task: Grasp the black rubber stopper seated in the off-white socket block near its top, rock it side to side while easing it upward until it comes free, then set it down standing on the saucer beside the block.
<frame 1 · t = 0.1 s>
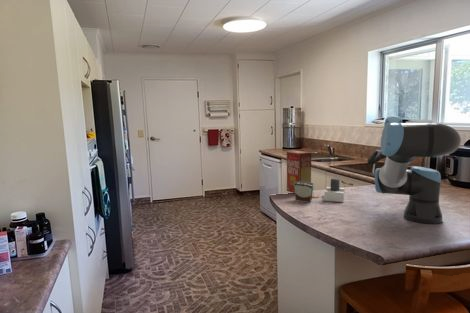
hand: (386, 172, 175), 15 cm above the worktop, tool tilted 35°, fingers open, 13 cm apart
socket block: (334, 198, 182), on the worktop
saucer: (313, 196, 187), on the worktop
food packaging: (298, 192, 198), on the worktop
food container: (305, 200, 179), on the worktop
stopper: (334, 198, 182), resting in socket block
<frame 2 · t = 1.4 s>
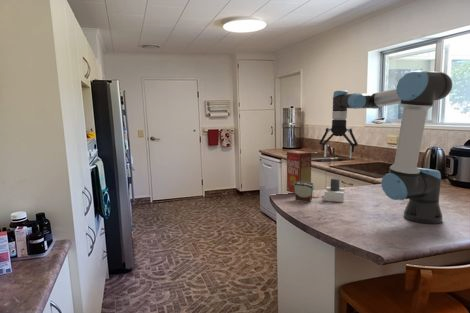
hand: (337, 157, 179), 23 cm above the worktop, tool pointing down, fingers open, 13 cm apart
nothing on the worktop moved.
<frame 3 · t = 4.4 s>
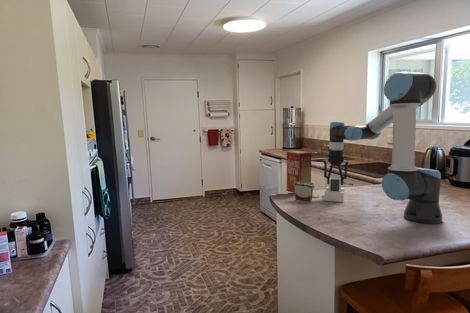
hand: (334, 190, 181), 5 cm above the worktop, tool pointing down, fingers closed on stopper, 5 cm apart
stopper: (334, 198, 182), resting in socket block, touching gripper
everything else where it was.
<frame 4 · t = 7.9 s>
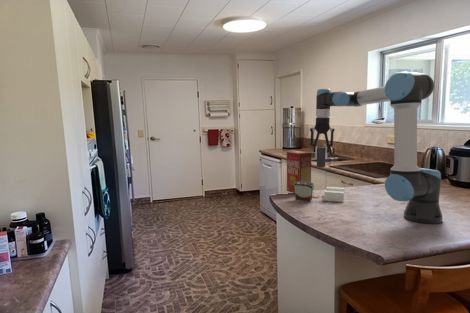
hand: (321, 158, 183), 23 cm above the worktop, tool pointing down, fingers closed on stopper, 5 cm apart
stopper: (320, 166, 183), point 18 cm above the worktop, touching gripper
everything else where it was.
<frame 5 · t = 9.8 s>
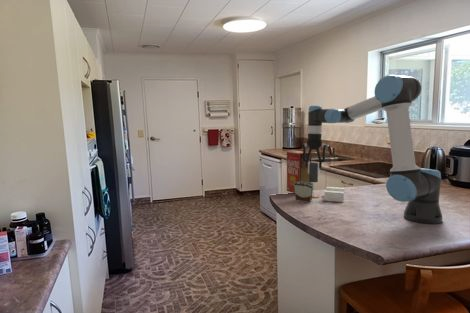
hand: (313, 173, 185), 14 cm above the worktop, tool pointing down, fingers closed on stopper, 5 cm apart
stopper: (313, 181, 186), point 9 cm above the worktop, touching gripper
everything else where it was.
when the fingers open (6 cm above the worktop, at t = 11.5 s): stopper stays where it is, resting on saucer.
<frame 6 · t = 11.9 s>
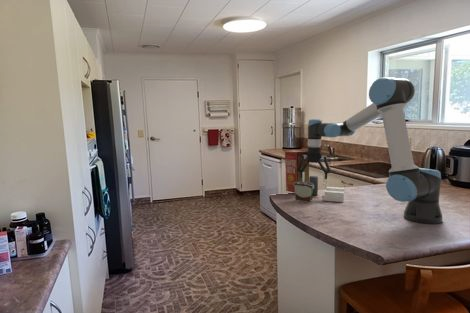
hand: (313, 184, 186), 7 cm above the worktop, tool pointing down, fingers open, 11 cm apart
food packaging: (297, 191, 198), on the worktop, touching hand
stopper: (313, 195, 187), point 1 cm above the worktop, touching saucer
everything else where it was.
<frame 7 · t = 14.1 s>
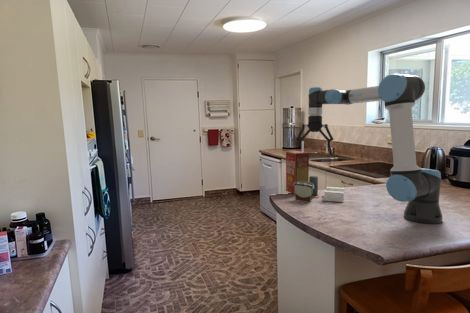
hand: (314, 152, 183), 26 cm above the worktop, tool pointing down, fingers open, 13 cm apart
food packaging: (296, 192, 197), on the worktop
everything else where it was.
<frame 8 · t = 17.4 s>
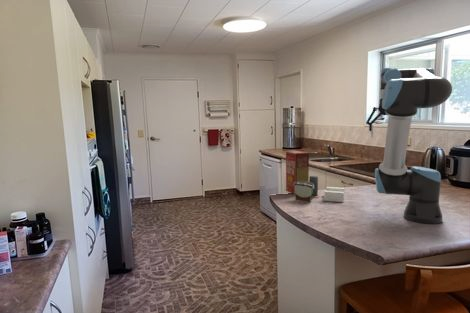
hand: (385, 137, 174), 35 cm above the worktop, tool pointing down, fingers open, 13 cm apart
nothing on the worktop moved.
at the end: stopper inside the target area (0.0 cm from its centre), point 0.6 cm above the worktop; stopper touching saucer; stopper tilted 0° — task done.
